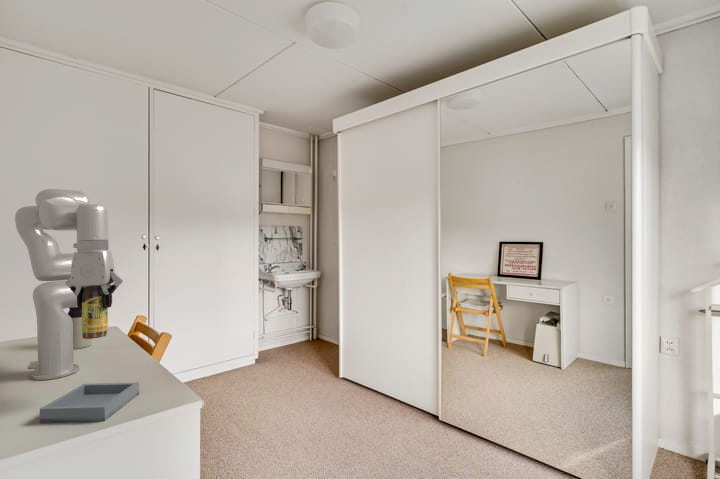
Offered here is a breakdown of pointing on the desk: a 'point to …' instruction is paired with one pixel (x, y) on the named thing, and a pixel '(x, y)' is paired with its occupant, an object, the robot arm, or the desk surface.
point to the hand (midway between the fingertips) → (94, 307)
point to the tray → (89, 402)
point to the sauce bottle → (94, 313)
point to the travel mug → (78, 328)
